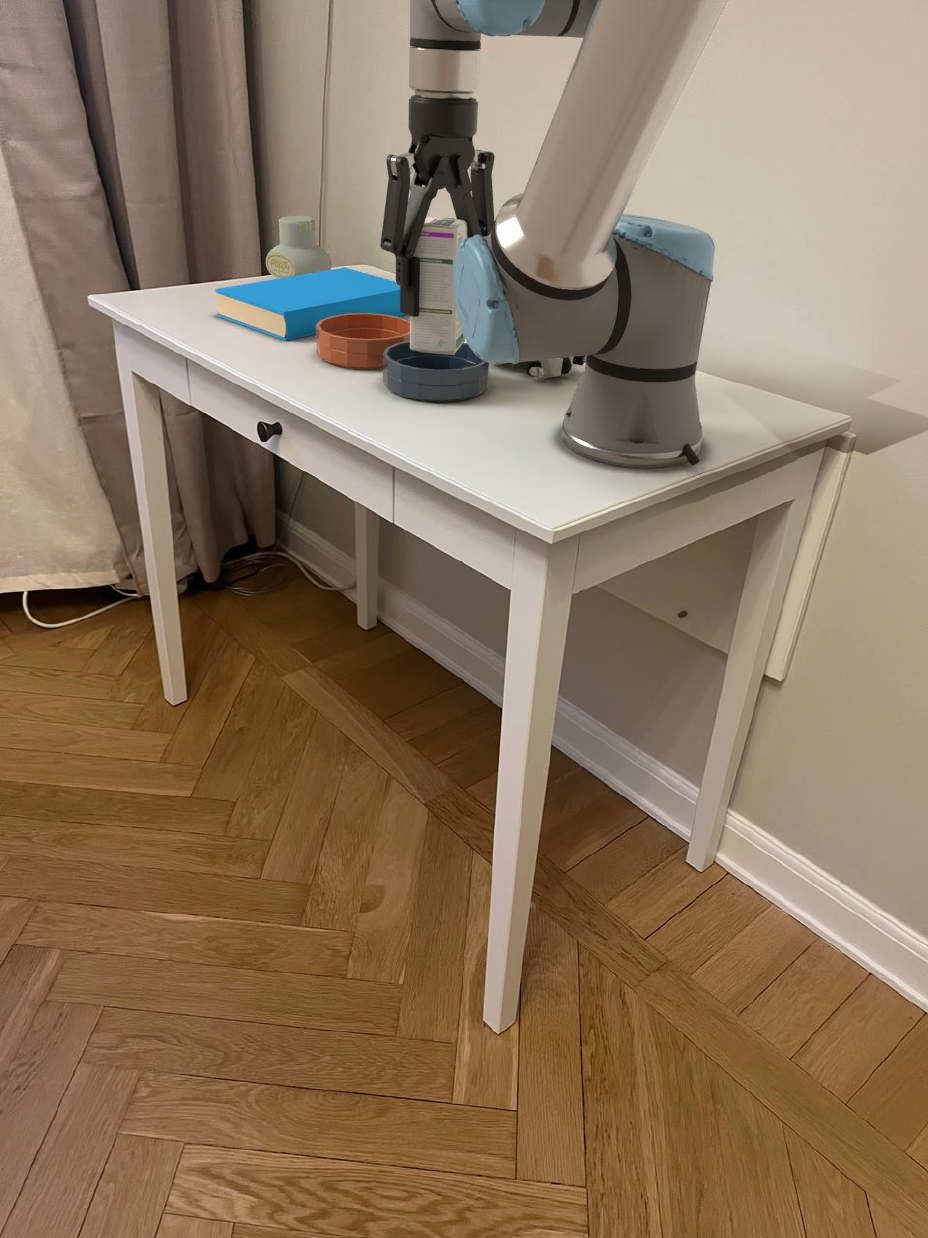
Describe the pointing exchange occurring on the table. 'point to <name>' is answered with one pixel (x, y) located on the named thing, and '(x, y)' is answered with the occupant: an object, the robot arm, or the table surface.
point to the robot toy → (551, 366)
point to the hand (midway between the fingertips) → (437, 308)
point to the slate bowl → (434, 373)
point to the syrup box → (438, 288)
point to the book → (307, 301)
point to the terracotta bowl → (359, 338)
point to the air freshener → (297, 249)
